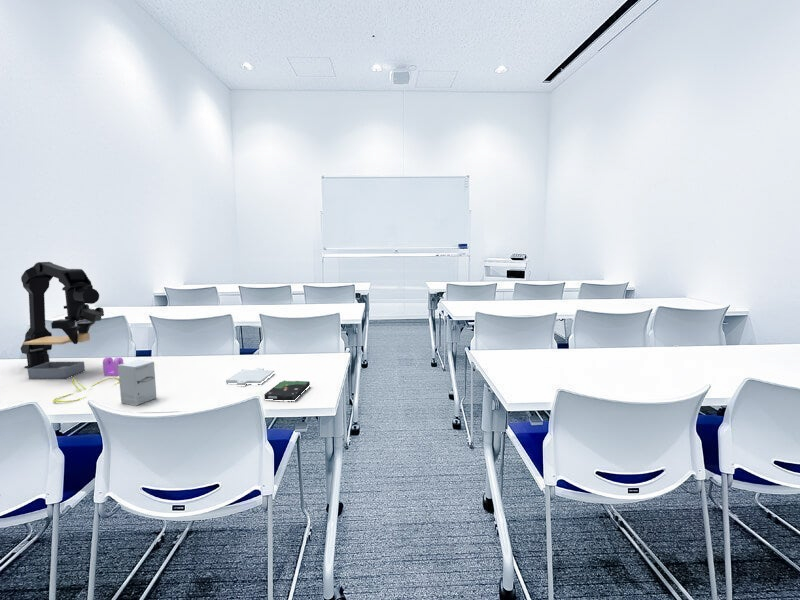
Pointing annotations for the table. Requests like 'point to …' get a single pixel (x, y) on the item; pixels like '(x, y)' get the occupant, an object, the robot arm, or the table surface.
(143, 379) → the supplement box
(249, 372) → the mounting plate
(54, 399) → the yellow cable
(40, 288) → the robot arm
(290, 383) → the disk drive
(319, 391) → the table surface
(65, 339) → the tan board with handle
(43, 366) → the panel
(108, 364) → the bracket
